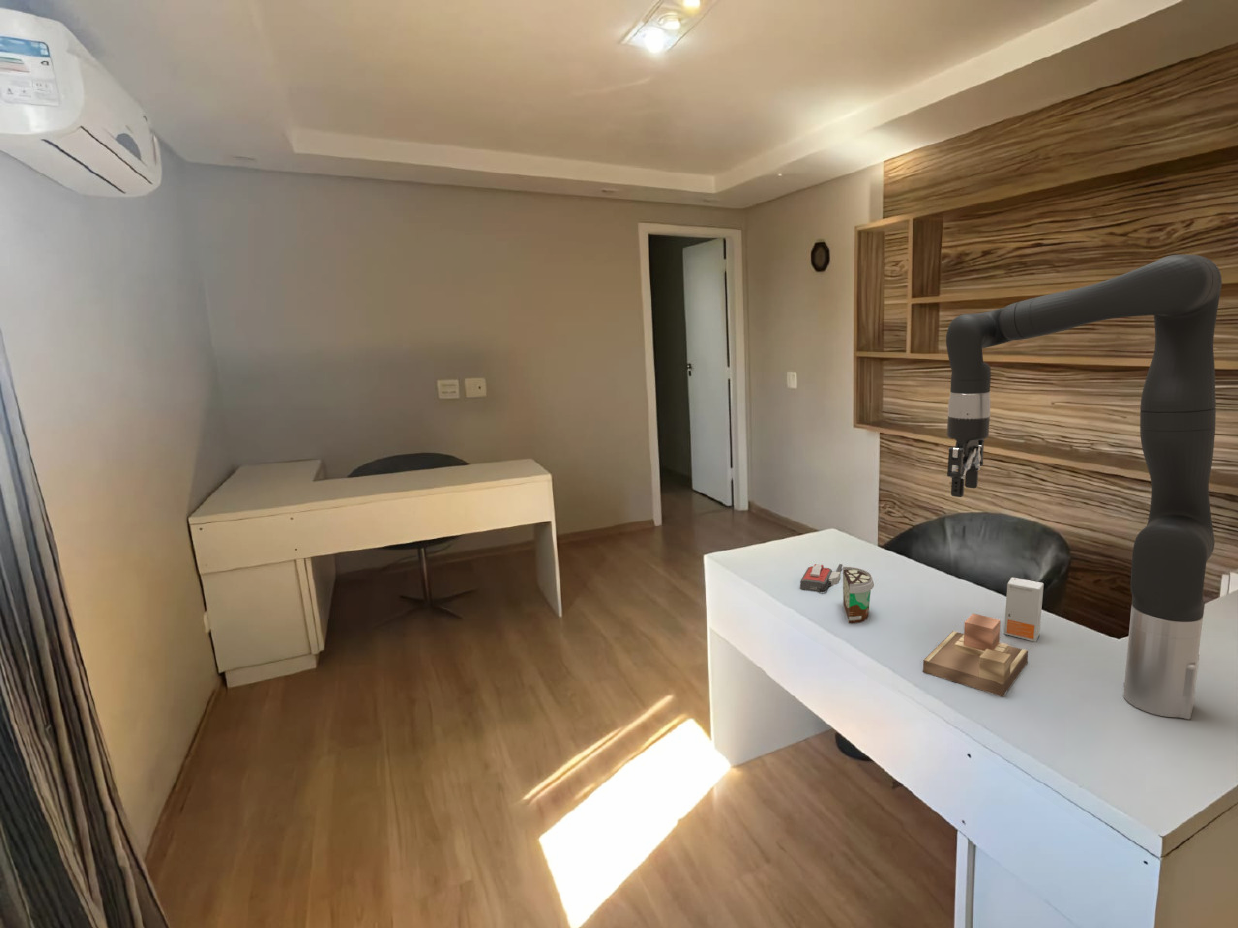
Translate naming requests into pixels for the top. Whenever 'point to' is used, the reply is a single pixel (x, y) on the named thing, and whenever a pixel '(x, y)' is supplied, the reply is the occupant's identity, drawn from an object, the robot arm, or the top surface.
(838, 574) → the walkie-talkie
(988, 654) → the light brown wooden cube
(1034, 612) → the skincare box
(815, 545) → the top surface
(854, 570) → the food container
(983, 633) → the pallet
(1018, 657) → the dock
